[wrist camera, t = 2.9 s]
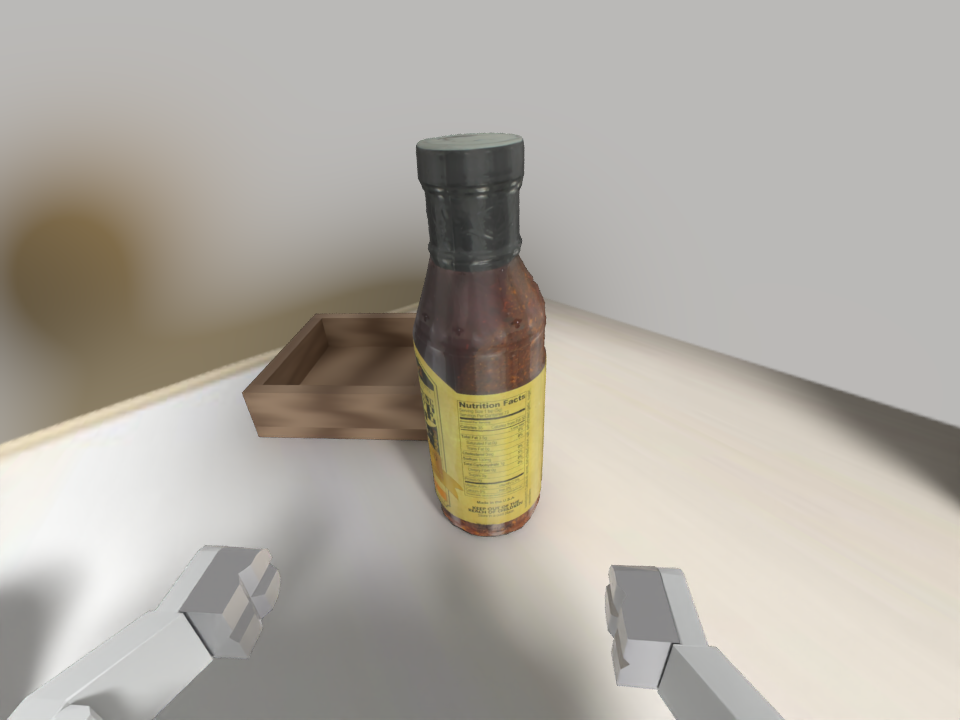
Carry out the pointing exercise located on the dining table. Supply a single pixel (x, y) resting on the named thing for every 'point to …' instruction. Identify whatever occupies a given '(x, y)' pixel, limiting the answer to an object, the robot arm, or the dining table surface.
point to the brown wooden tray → (342, 381)
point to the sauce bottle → (480, 335)
